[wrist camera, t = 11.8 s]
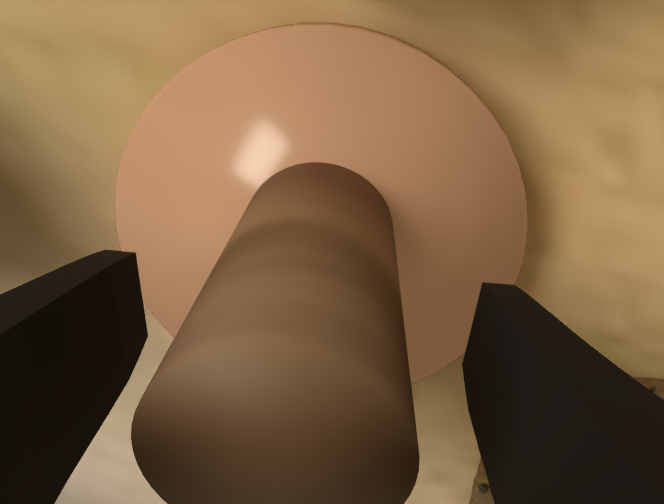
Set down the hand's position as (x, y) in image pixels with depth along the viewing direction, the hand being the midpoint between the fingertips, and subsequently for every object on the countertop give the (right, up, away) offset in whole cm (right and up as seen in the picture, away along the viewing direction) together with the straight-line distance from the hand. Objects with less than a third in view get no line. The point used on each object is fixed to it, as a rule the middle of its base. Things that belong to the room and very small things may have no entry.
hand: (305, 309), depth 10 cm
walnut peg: (0, +2, +2) cm, 3 cm away
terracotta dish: (0, +2, +3) cm, 4 cm away
